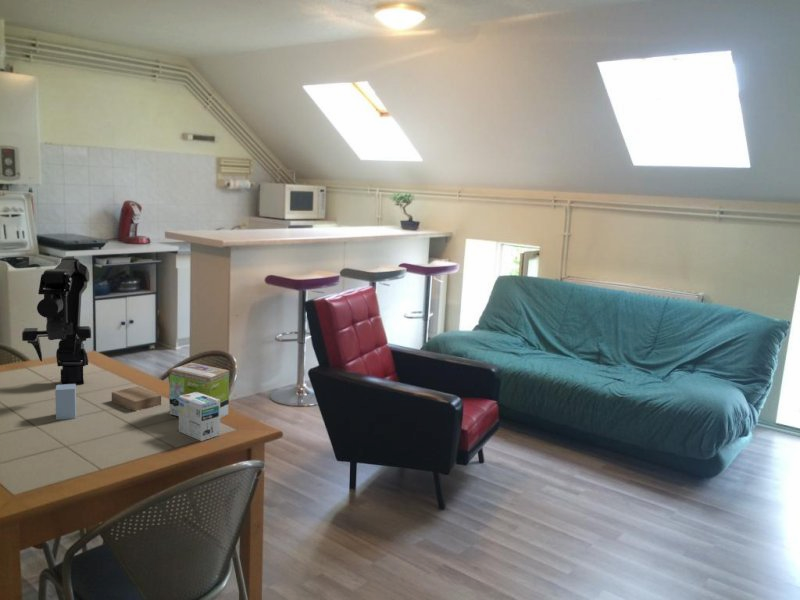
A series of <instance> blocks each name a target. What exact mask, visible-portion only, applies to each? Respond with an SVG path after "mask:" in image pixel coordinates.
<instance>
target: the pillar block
mask: <svg viewBox="0 0 800 600" xmlns="http://www.w3.org/2000/svg"><path fill="white" fill-rule="evenodd" d="M76 390H77V384H63V383H62V384H56V386H55V390H54V392H55V420H57V421H59V420H71V419H76V418H75V417H76V416H77V391H76ZM58 419H59V420H58Z"/></svg>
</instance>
